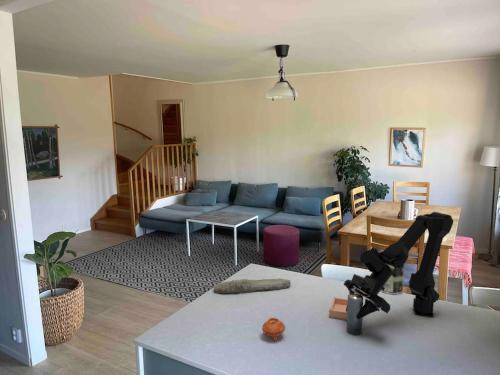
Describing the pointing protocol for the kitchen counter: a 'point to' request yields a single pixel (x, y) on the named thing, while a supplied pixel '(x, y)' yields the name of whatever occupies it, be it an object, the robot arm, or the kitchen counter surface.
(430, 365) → the kitchen counter surface
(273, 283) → the elongated rock
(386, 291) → the coffee can
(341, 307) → the terracotta bin
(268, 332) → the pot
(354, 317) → the dark grey cylinder
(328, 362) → the kitchen counter surface
